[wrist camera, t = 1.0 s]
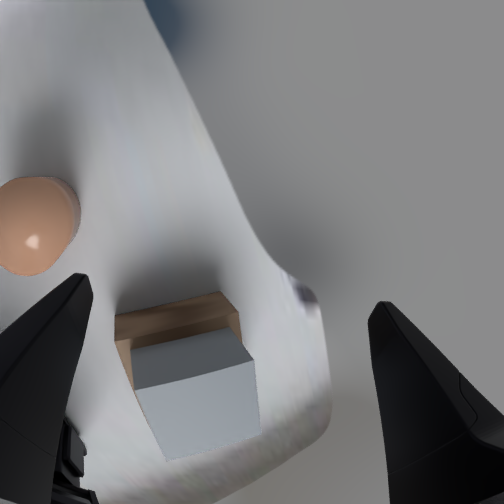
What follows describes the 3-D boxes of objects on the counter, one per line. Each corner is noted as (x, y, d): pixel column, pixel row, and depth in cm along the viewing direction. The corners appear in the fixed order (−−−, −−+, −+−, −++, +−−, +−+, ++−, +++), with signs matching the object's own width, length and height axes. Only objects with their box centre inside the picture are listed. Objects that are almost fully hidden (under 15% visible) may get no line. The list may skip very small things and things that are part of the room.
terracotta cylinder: (24, 259, 16) (-2, 284, 12) (9, 187, 15) (-22, 191, 10) (87, 244, 18) (76, 265, 13) (74, 168, 16) (57, 166, 12)
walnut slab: (143, 396, 22) (150, 428, 19) (114, 313, 20) (114, 341, 16) (232, 372, 25) (250, 400, 22) (219, 289, 23) (238, 311, 19)
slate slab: (156, 420, 19) (166, 461, 15) (130, 349, 17) (134, 390, 13) (239, 398, 21) (261, 433, 17) (229, 326, 19) (253, 359, 16)
